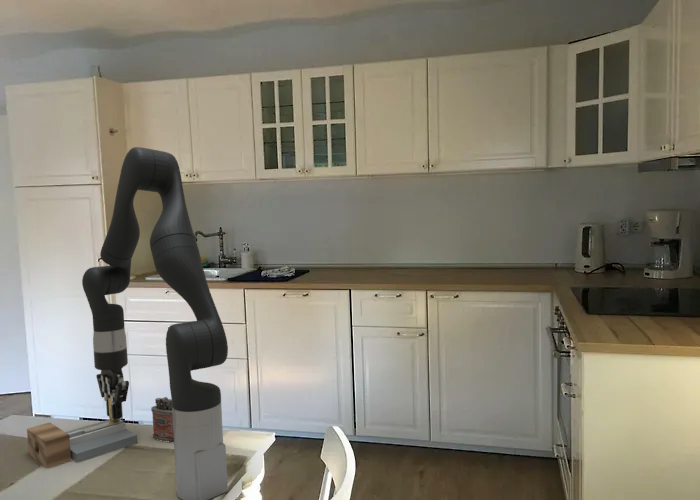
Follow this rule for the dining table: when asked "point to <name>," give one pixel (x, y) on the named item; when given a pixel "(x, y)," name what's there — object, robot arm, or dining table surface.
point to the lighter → (163, 419)
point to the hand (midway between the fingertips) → (114, 416)
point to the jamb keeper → (49, 445)
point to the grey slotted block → (99, 441)
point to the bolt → (105, 425)
